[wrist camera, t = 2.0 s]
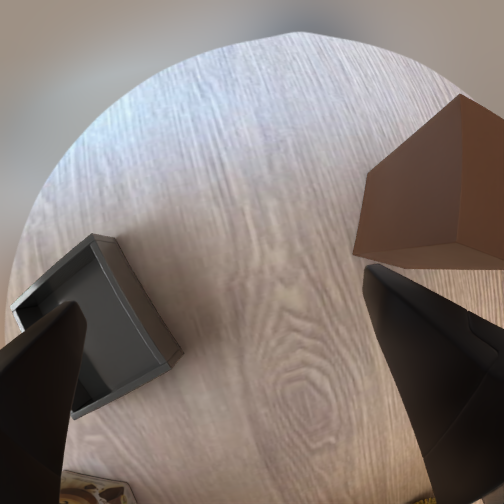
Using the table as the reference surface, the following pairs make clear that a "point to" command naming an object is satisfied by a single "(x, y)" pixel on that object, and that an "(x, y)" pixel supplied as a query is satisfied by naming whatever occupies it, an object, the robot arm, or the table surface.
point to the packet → (439, 195)
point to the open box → (104, 321)
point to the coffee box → (93, 490)
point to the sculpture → (430, 503)
